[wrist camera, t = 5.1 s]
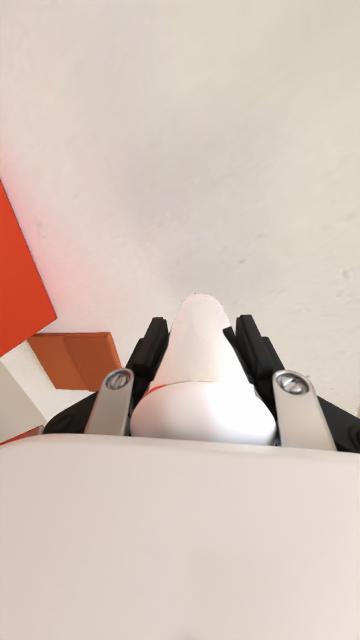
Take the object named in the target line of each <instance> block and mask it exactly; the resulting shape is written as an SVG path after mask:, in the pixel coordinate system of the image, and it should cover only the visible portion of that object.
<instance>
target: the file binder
mask: <svg viewBox="0 0 360 640" xmlns="http://www.w3.org/2000/svg"><path fill="white" fill-rule="evenodd" d="M56 318H57V317H56V314H55V312H54V310H53V307H52V305H51V302H50V300H49V297H48V295H47V292H46V290H45V288H44V285H43V283H42V280H41V278H40V275H39V273H38V271H37V268H36V266H35V263H34V261H33V258H32V256H31V253H30V251H29V249H28V246H27V244H26V241H25V239H24V236H23V234H22V232H21V229H20V227H19V224H18V222H17V219H16V217H15V214H14V212H13V210H12V207H11V205H10V202H9V200H8V197H7V195H6V193H5V190H4V188H3V185H2V183H1V180H0V357H2V356H3V355H4V354H6V353H7V352H9V351H10V350H12V349H13V348H15V347H16V346H18V345H19V344H21V343H22V342H24V341H25V340H26V339H28V338H29V337H31V336H32V335H34V334H35V333H37V332H38V331H40V330H41V329H43V328H44V327H46V326H47V325H48V324H50V323H51V322H53V321H54V320H56Z"/></svg>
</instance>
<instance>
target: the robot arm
mask: <svg viewBox="0 0 360 640" xmlns="http://www.w3.org/2000/svg"><path fill="white" fill-rule="evenodd" d="M235 336H236V339H237V341H238V343H239V346H240V348H241V350H242V353H243V355H244V357H245V359H246V361H247V364H248V366H249V368H250V370H251V372H252V374H253V376H254V378H255V380H256V383H257V385H258V387H259V389H260V391H261V393H262V395H263V397H264V399H265V402H266V404H267V406H268V408H269V410H270V412H271V414H272V416H273V418H274V420H275V423H276V427H277V434H276V443H275V446H263V445H249V444H236V443H221V442H206V441H191V440H176V439H161V438H145V437H131V433H130V420H131V417H132V414H133V412H134V410H135V408H136V406H137V404H138V401H139V399H140V397H141V395H142V392H143V390H144V388H145V386H146V383H147V381H148V379H149V377H150V374H151V372H152V370H153V368H154V366H155V363H156V361H157V359H158V357H159V355H160V353H161V351H162V349H163V347H164V345H165V342H166V339H167V337H168V327H167V321H166V319H163V317H154V318H153V319H152V321H151V323H150V326H149V328H148V330H147V332H146V334H145V336H144V338H140V339H139V341H138V343H137V345H136V347H135V349H134V351H133V353H132V355H131V357H130V359H129V361H128V363H127V365H126V367H125V368H119V369H116V370H113V371H111V372H110V373H109V374H107V375H106V376H105V378H104V379H103V381H102V383H101V386H100V389H99V390H98V391H97V392H95V393H93V394H91V395H90V396H88V397H86V398H84V399H83V400H81V401H79V402H77V403H76V404H74V405H72V406H70V407H69V408H67V409H65V410H63V411H62V412H60V413H59V414H57V415H56V416H54V417H53V418H52V419H51V420H50V421H49V422H48V423H47V425H46V426H45V427H44V426H43V425H41V426H38V427H36V428H34V429H32V430H29V431H27V432H25V433H23V434H20V435H18V436H16V437H14V438H11V439H9V440H7V441H5V442H2V443H0V640H360V419H359V418H357V417H355V416H353V415H351V414H350V413H348V412H346V411H344V410H342V409H341V408H339V407H337V406H335V405H333V404H331V403H330V402H328V401H326V400H324V399H322V398H321V397H319V396H317V395H316V392H315V390H314V387H313V385H312V383H311V382H310V381H309V380H308V379H307V378H306V377H305V376H303V375H301V374H300V373H297V372H295V371H291V370H285V368H284V366H283V364H282V363H281V361H280V359H279V357H278V355H277V353H276V351H275V349H274V347H273V345H272V344H271V342H270V340H269V338H268V337H261V335H260V332H259V330H258V328H257V326H256V324H255V322H254V320H253V318H252V316H251V315H240V317H237V320H236V333H235Z"/></svg>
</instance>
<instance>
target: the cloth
mask: <svg viewBox="0 0 360 640" xmlns="http://www.w3.org/2000/svg"><path fill="white" fill-rule="evenodd" d="M26 340H27V341H28V343H29V345H30V346H31V348H32V350H33V351H34V353H35V355H36V356H37V358H38V360H39V361H40V363H41V365H42V366H43V368H44V370H45V371H46V373H47V375H48V376H49V378H50V380H51V381H52V383H53V385H54V386H55V388H56V389H70V390H89V391H91V392H97V391H98V390H99V389H100V386H101V383H102V381H103V379H104V378H105V376H106V375H107V374H109V373H110V372H111V371H113V370H116V369H119V368H122V367H121V364H120V361H119V358H118V355H117V352H116V349H115V345H114V342H113V339H112V336H111V333H56V334H34V335H32V336H31V337H29V338H28V339H26Z"/></svg>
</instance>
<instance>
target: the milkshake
mask: <svg viewBox="0 0 360 640" xmlns="http://www.w3.org/2000/svg"><path fill="white" fill-rule="evenodd" d="M130 433H131V437H145V438H161V439H176V440H191V441H206V442H221V443H236V444H249V445H263V446H275V443H276V434H277V427H276V423H275V420H274V418H273V416H272V414H271V412H270V410H269V408H268V406H267V404H266V402H265V399H264V397H263V395H262V393H261V391H260V389H259V387H258V385H257V383H256V380H255V378H254V376H253V374H252V372H251V370H250V368H249V366H248V364H247V361H246V359H245V357H244V355H243V353H242V350H241V348H240V346H239V343H238V341H237V339H236V336H235V334H234V331H233V329H232V327H231V324H230V322H229V320H228V317H227V315H226V313H225V310H224V308H223V306H222V304H221V303H220V302H219V301H217V300H216V299H215V298H214V297H213V296H211V295H208V294H196V293H195V294H193V295H191V296H190V297H188V298H186V299H184V300H182V302H181V304H180V307H179V309H178V311H177V314H176V316H175V319H174V321H173V324H172V326H171V329H170V332H169V334H168V337H167V339H166V342H165V345H164V347H163V349H162V351H161V353H160V355H159V357H158V359H157V361H156V363H155V366H154V368H153V370H152V372H151V374H150V377H149V379H148V381H147V383H146V386H145V388H144V390H143V392H142V395H141V397H140V399H139V401H138V404H137V406H136V408H135V410H134V412H133V414H132V417H131V420H130Z"/></svg>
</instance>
